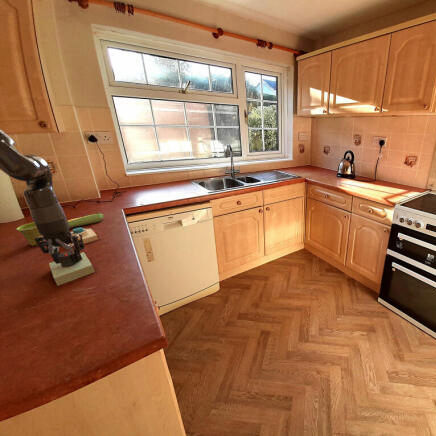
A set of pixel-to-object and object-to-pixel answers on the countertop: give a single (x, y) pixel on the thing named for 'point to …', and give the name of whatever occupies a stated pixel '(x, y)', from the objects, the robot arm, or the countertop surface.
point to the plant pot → (29, 232)
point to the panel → (71, 270)
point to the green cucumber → (85, 220)
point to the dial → (66, 259)
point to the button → (78, 230)
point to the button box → (87, 236)
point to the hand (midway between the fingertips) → (69, 262)
